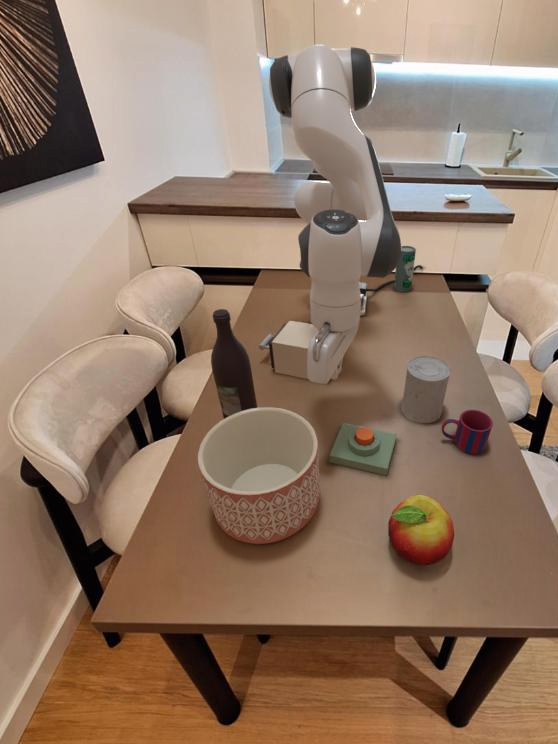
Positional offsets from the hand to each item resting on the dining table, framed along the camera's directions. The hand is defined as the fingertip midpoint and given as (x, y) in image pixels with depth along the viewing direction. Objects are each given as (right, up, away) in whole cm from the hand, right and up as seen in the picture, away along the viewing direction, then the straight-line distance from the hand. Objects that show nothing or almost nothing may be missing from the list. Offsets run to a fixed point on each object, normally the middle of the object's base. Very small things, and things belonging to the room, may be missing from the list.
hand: (334, 375), depth 79 cm
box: (+6, -16, +6) cm, 18 cm away
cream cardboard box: (-8, +3, +30) cm, 31 cm away
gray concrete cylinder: (+20, -8, +17) cm, 27 cm away
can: (+22, +34, +71) cm, 81 cm away
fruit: (+15, -29, -10) cm, 34 cm away
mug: (+28, -15, +9) cm, 32 cm away
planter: (-12, -24, -4) cm, 27 cm away
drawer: (-12, +5, +30) cm, 33 cm away
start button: (+6, -13, +4) cm, 15 cm away
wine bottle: (-20, -13, +9) cm, 26 cm away
